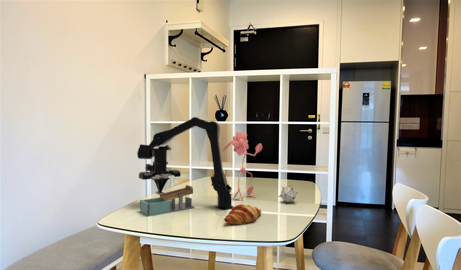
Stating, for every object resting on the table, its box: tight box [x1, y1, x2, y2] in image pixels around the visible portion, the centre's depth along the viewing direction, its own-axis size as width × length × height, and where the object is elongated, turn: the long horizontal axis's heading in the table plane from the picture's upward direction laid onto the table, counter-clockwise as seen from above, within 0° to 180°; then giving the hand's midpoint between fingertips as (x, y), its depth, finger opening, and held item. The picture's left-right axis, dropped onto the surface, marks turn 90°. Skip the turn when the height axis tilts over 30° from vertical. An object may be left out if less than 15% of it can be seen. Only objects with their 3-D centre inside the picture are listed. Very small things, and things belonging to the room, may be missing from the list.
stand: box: [171, 194, 196, 213], centre depth 136 cm, size 9×11×7 cm
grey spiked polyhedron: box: [278, 185, 298, 204], centre depth 147 cm, size 9×8×10 cm
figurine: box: [221, 131, 263, 202], centre depth 158 cm, size 15×26×35 cm, turn 133°
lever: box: [155, 184, 194, 201], centre depth 139 cm, size 16×14×3 cm
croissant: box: [223, 204, 262, 225], centre depth 119 cm, size 21×10×8 cm, turn 137°
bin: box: [139, 196, 172, 217], centre depth 129 cm, size 9×11×5 cm
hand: (159, 192), depth 140 cm, fingers closed, pressing on lever
